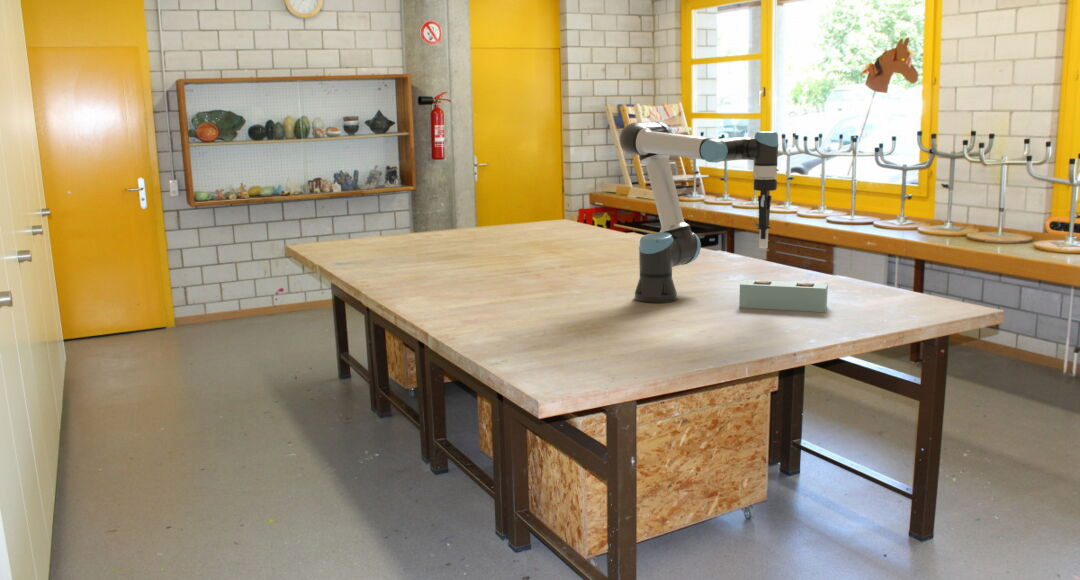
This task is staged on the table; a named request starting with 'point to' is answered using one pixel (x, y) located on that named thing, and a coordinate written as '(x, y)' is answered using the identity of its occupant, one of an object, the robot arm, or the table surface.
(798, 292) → the socket board
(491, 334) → the table surface
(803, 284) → the peg
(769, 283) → the peg
